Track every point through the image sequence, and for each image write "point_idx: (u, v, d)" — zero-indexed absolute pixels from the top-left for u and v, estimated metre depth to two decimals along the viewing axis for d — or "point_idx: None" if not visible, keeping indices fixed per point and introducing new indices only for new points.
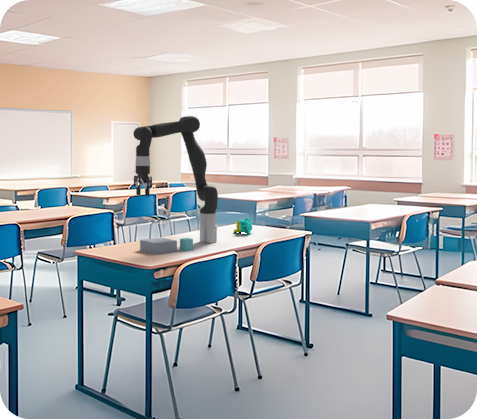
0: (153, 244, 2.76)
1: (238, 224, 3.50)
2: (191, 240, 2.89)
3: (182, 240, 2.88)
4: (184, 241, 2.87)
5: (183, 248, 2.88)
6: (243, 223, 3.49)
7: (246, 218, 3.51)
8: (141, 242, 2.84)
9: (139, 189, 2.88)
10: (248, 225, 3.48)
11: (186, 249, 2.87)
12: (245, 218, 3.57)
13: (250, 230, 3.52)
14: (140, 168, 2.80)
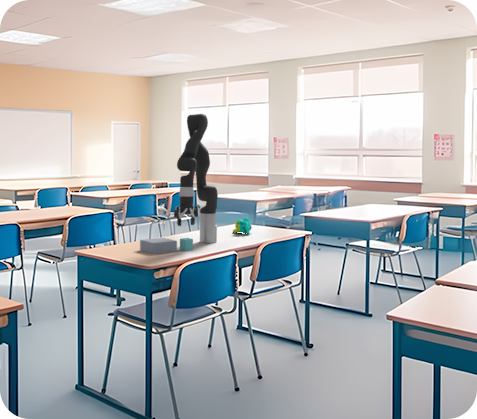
0: (153, 244, 2.76)
1: (237, 224, 3.50)
2: (191, 240, 2.89)
3: (182, 240, 2.88)
4: (184, 241, 2.87)
5: (183, 248, 2.88)
6: (242, 223, 3.49)
7: (245, 218, 3.51)
8: (141, 242, 2.85)
9: None
10: (247, 225, 3.48)
11: (186, 249, 2.87)
12: (243, 219, 3.57)
13: (249, 230, 3.52)
14: None
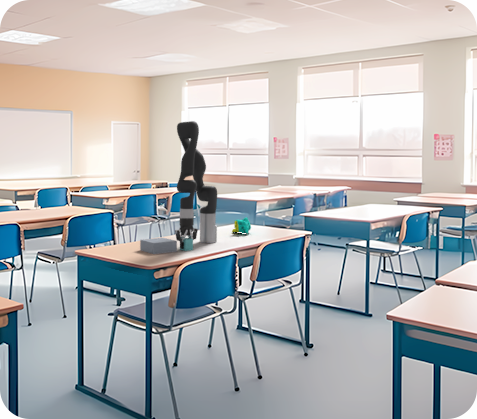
0: (152, 244, 2.76)
1: (236, 224, 3.50)
2: (191, 240, 2.89)
3: None
4: (184, 241, 2.87)
5: None
6: (241, 223, 3.49)
7: (244, 218, 3.51)
8: (141, 242, 2.85)
9: None
10: (246, 225, 3.48)
11: (186, 249, 2.87)
12: None
13: (248, 230, 3.52)
14: (193, 220, 2.88)
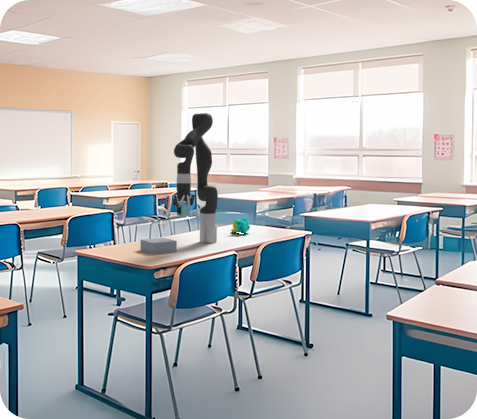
0: (152, 244, 2.76)
1: (234, 224, 3.50)
2: (188, 206, 2.86)
3: None
4: (181, 206, 2.84)
5: (180, 214, 2.85)
6: (239, 223, 3.49)
7: (243, 218, 3.51)
8: (141, 242, 2.85)
9: None
10: (244, 225, 3.48)
11: (183, 214, 2.85)
12: None
13: (247, 230, 3.52)
14: (190, 186, 2.86)
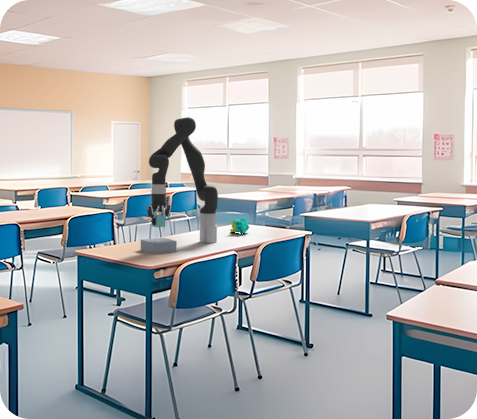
0: (151, 244, 2.76)
1: (233, 224, 3.50)
2: (163, 216, 2.83)
3: None
4: (156, 217, 2.81)
5: None
6: (238, 223, 3.49)
7: (241, 218, 3.51)
8: (141, 242, 2.85)
9: None
10: (243, 225, 3.49)
11: (158, 225, 2.81)
12: None
13: (245, 230, 3.52)
14: (165, 196, 2.82)
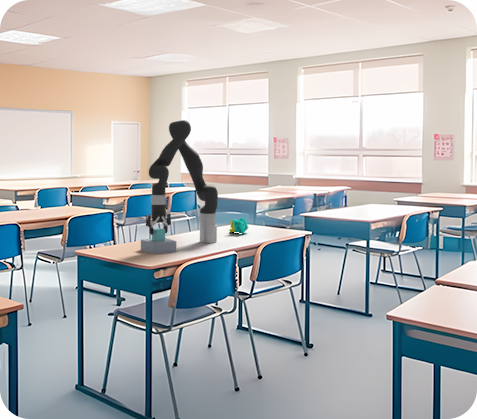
0: (151, 244, 2.76)
1: (232, 224, 3.51)
2: (163, 230, 2.84)
3: (154, 230, 2.83)
4: (156, 231, 2.82)
5: (155, 238, 2.83)
6: (237, 223, 3.49)
7: (240, 218, 3.52)
8: (141, 242, 2.85)
9: None
10: (242, 225, 3.49)
11: (158, 239, 2.82)
12: (241, 218, 3.57)
13: (244, 230, 3.52)
14: (165, 207, 2.82)
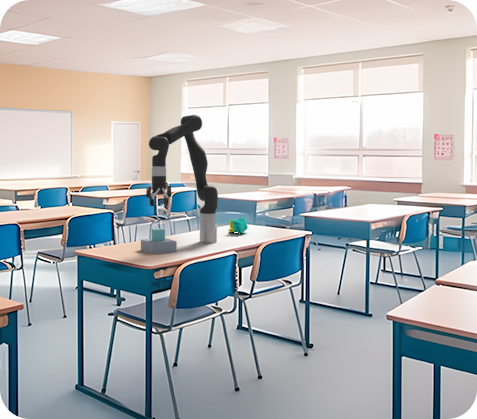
0: (151, 244, 2.76)
1: (231, 224, 3.51)
2: (163, 230, 2.83)
3: (154, 230, 2.83)
4: (156, 231, 2.81)
5: (155, 239, 2.82)
6: (236, 223, 3.49)
7: (240, 218, 3.52)
8: (141, 242, 2.85)
9: None
10: (241, 225, 3.49)
11: (158, 240, 2.81)
12: None
13: (244, 230, 3.52)
14: (165, 179, 2.81)
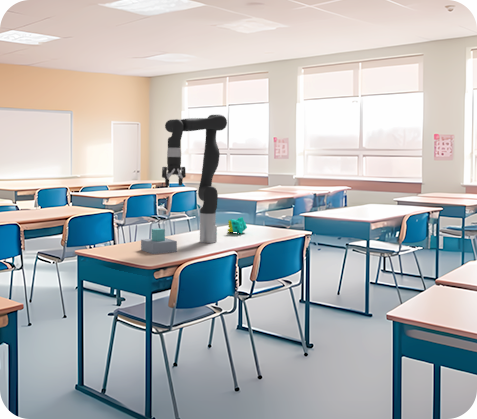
0: (151, 244, 2.76)
1: (230, 224, 3.51)
2: (163, 230, 2.83)
3: (154, 230, 2.83)
4: (155, 231, 2.81)
5: (155, 238, 2.82)
6: (234, 223, 3.49)
7: (238, 218, 3.52)
8: (142, 242, 2.86)
9: None
10: (239, 225, 3.49)
11: (158, 239, 2.82)
12: None
13: (242, 230, 3.52)
14: (180, 160, 2.94)
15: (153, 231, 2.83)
